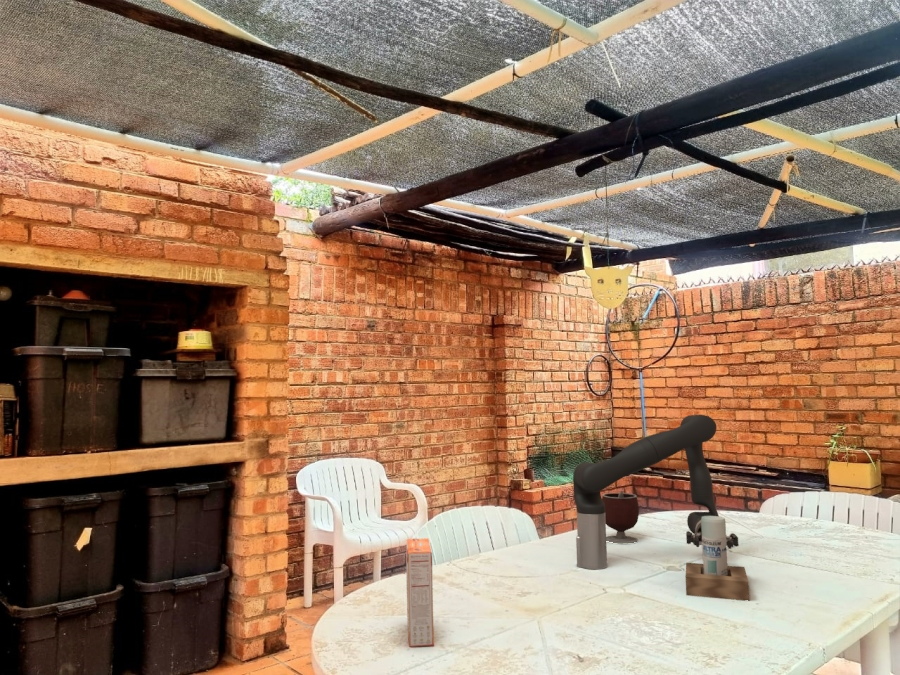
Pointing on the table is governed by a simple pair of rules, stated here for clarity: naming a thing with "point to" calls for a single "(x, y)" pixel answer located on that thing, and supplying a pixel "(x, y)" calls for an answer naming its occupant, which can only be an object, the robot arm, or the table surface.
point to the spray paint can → (714, 545)
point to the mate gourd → (621, 515)
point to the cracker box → (419, 592)
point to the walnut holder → (717, 583)
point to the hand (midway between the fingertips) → (713, 544)
